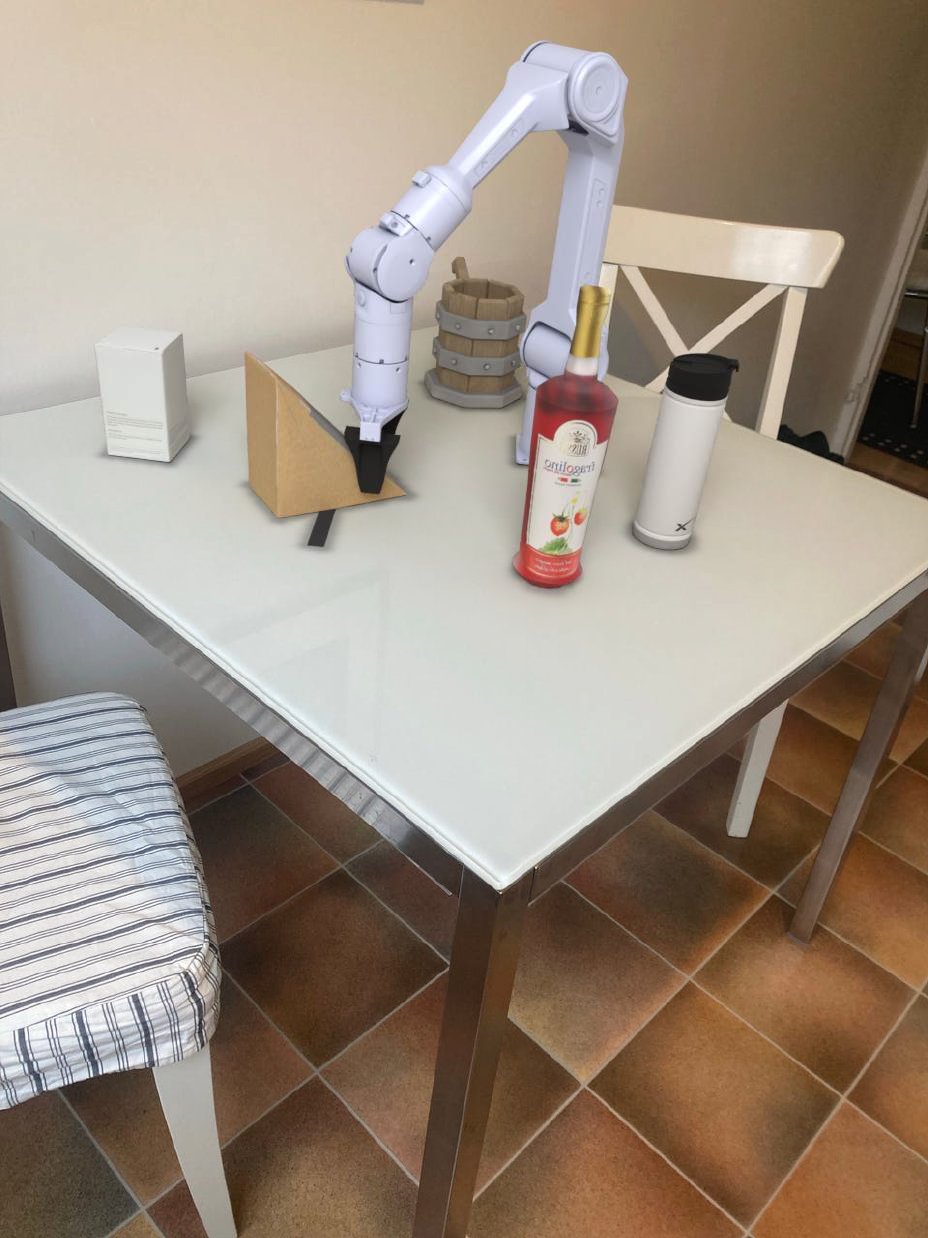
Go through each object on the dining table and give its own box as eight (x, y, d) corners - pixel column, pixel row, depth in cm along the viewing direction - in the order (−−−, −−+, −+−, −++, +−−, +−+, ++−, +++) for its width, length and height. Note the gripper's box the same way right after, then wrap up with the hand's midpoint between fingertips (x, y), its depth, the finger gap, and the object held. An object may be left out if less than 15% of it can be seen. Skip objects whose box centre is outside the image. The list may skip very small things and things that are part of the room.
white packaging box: (192, 437, 115) (185, 331, 108) (169, 464, 109) (161, 353, 102) (130, 429, 116) (120, 322, 108) (104, 455, 109) (91, 343, 102)
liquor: (578, 560, 101) (633, 282, 85) (585, 599, 95) (645, 307, 79) (507, 554, 100) (548, 273, 85) (510, 593, 94) (555, 298, 79)
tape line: (355, 447, 118) (355, 446, 118) (323, 547, 98) (323, 546, 98) (342, 445, 118) (342, 445, 118) (307, 545, 98) (307, 544, 98)
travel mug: (692, 556, 104) (741, 373, 93) (630, 544, 105) (671, 361, 93) (692, 529, 109) (739, 352, 98) (633, 517, 110) (673, 341, 99)
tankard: (528, 409, 133) (544, 297, 125) (437, 408, 130) (447, 293, 122) (492, 356, 149) (504, 254, 141) (410, 355, 146) (417, 250, 138)
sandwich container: (409, 495, 109) (418, 363, 100) (278, 519, 101) (276, 379, 93) (374, 463, 114) (380, 335, 106) (247, 483, 107) (243, 349, 99)
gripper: (351, 327, 106) (347, 444, 114) (330, 375, 94) (327, 502, 101) (417, 335, 106) (408, 451, 114) (404, 383, 94) (395, 509, 102)
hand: (374, 475), depth 108 cm, fingers open, 7 cm apart
